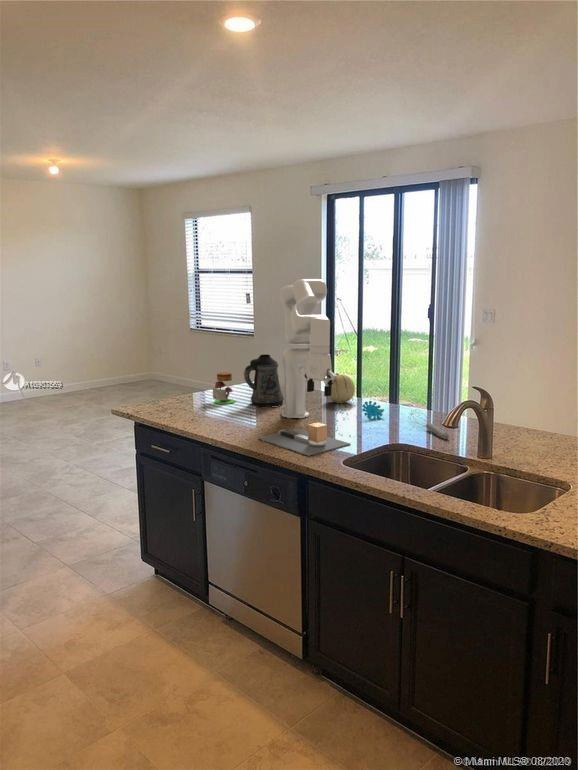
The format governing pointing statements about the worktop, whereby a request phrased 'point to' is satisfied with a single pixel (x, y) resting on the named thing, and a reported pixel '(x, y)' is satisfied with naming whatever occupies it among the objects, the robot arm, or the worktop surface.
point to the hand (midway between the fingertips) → (319, 393)
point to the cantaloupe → (342, 389)
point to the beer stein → (264, 382)
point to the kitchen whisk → (433, 428)
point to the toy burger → (220, 393)
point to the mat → (302, 446)
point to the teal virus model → (372, 410)
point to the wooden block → (317, 432)
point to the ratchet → (301, 438)
